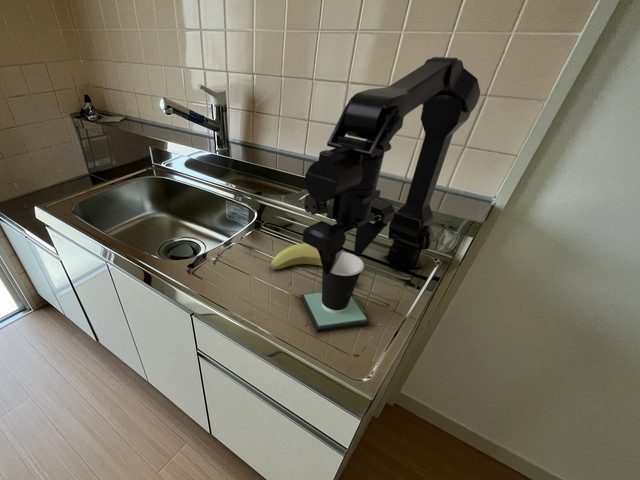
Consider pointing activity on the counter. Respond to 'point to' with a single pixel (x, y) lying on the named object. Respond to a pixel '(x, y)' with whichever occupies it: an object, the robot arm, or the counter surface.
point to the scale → (333, 314)
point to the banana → (296, 256)
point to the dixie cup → (340, 282)
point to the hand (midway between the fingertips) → (342, 263)
